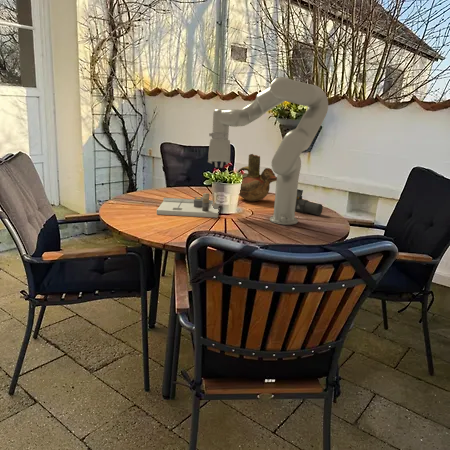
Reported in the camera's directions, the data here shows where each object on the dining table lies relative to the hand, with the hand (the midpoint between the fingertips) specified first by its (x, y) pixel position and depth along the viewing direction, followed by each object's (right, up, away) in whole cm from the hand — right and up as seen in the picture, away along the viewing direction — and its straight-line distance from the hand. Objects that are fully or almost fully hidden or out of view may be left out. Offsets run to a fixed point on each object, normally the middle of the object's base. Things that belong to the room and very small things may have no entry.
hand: (218, 175), depth 201 cm
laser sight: (+41, -17, +12) cm, 46 cm away
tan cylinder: (-6, -17, -5) cm, 19 cm away
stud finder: (-9, -14, +4) cm, 17 cm away
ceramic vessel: (+19, -11, +29) cm, 37 cm away
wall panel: (-14, -16, +3) cm, 22 cm away
